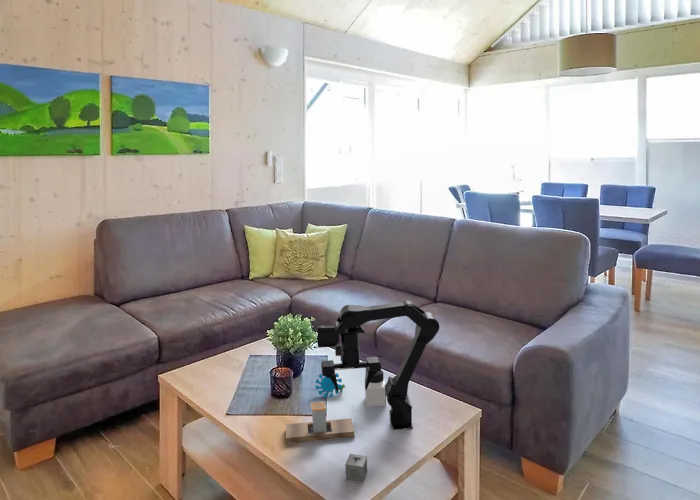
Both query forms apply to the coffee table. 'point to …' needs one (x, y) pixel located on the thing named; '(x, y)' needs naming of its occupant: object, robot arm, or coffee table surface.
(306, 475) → the coffee table surface
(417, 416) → the coffee table surface
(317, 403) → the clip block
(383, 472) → the coffee table surface
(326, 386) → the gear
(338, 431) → the wooden socket base
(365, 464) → the grey marked cube
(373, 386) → the medicine bottle
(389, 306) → the robot arm
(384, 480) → the coffee table surface
